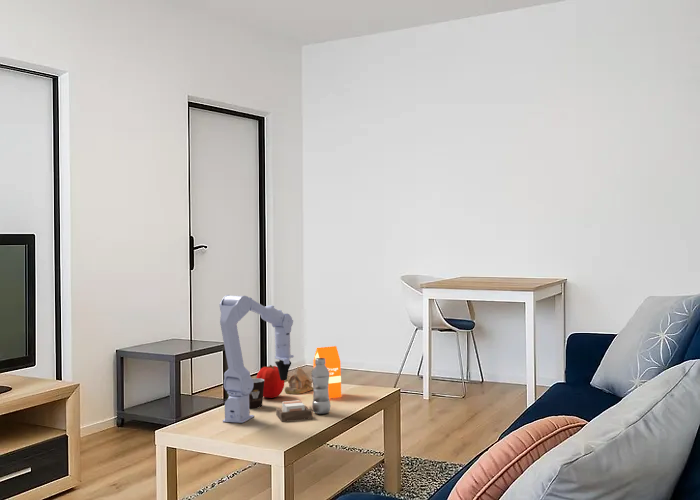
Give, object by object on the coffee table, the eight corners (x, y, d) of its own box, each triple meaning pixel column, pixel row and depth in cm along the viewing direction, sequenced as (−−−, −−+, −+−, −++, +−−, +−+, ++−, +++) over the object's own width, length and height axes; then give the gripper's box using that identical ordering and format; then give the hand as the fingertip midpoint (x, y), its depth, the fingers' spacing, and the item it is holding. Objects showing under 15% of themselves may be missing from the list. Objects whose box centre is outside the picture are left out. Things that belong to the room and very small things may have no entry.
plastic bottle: (328, 416, 258) (327, 360, 258) (310, 415, 259) (309, 360, 259) (332, 411, 264) (331, 357, 264) (314, 411, 266) (313, 357, 265)
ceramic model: (293, 387, 310) (292, 363, 310) (317, 388, 307) (316, 364, 307) (280, 394, 297) (279, 369, 297) (305, 395, 294) (305, 370, 293)
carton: (304, 419, 255) (304, 404, 255) (286, 420, 253) (286, 406, 253) (300, 413, 263) (299, 399, 263) (282, 415, 261) (282, 401, 261)
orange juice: (313, 395, 292) (312, 346, 291) (333, 393, 295) (332, 344, 295) (321, 399, 285) (320, 349, 284) (341, 397, 288) (340, 347, 288)
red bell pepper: (281, 393, 298) (280, 361, 297) (287, 399, 286) (287, 366, 286) (253, 395, 294) (252, 363, 294) (259, 402, 282) (258, 368, 282)
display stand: (312, 418, 255) (311, 410, 254) (281, 421, 251) (281, 413, 251) (305, 412, 264) (305, 404, 264) (276, 414, 261) (276, 406, 261)
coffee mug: (267, 404, 279) (266, 378, 279) (262, 409, 270) (261, 382, 270) (237, 403, 280) (237, 378, 280) (232, 409, 271) (231, 382, 271)
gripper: (297, 346, 269) (297, 382, 269) (289, 341, 283) (290, 375, 283) (278, 347, 267) (279, 384, 267) (271, 342, 281) (272, 377, 281)
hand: (283, 380), depth 275 cm, fingers closed
